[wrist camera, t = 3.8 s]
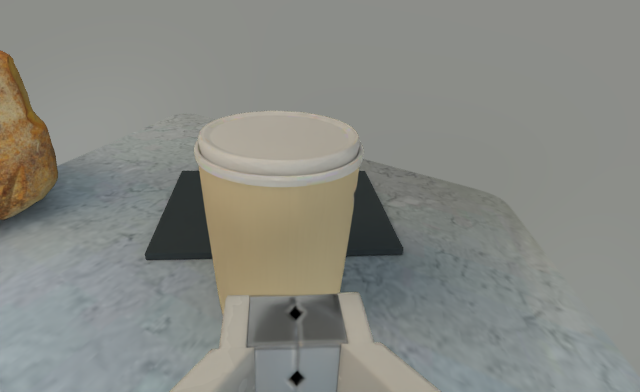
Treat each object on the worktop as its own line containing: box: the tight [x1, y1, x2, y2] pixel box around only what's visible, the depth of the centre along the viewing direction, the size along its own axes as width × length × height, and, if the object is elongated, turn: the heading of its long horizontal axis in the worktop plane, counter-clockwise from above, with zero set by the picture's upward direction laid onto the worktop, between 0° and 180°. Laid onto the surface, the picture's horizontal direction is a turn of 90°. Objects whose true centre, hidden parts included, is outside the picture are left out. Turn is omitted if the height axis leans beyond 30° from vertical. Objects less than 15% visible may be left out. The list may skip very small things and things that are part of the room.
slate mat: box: [145, 171, 403, 260], centre depth 42 cm, size 20×16×1 cm
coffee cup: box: [194, 111, 364, 315], centre depth 27 cm, size 9×9×12 cm
